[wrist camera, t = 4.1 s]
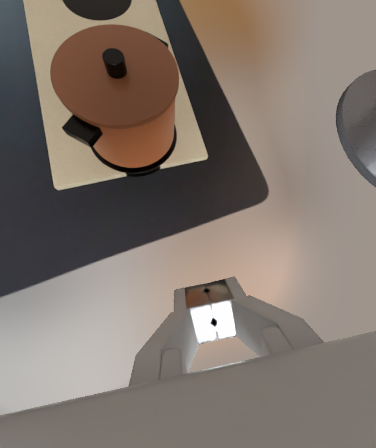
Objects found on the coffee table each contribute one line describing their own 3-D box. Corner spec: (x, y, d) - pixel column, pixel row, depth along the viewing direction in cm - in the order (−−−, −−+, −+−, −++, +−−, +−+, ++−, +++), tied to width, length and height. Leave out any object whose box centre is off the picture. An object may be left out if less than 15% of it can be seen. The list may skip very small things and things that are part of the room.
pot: (126, 78, 30) (103, -21, 19) (194, 116, 29) (209, 37, 19) (64, 152, 26) (-5, 78, 16) (142, 196, 26) (124, 150, 15)
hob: (145, -25, 36) (144, -33, 35) (206, 159, 29) (208, 155, 28) (22, -20, 33) (18, -29, 32) (58, 190, 26) (53, 187, 25)
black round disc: (164, 97, 31) (164, 91, 30) (186, 166, 29) (187, 163, 28) (83, 109, 29) (80, 103, 28) (99, 185, 27) (97, 182, 26)
